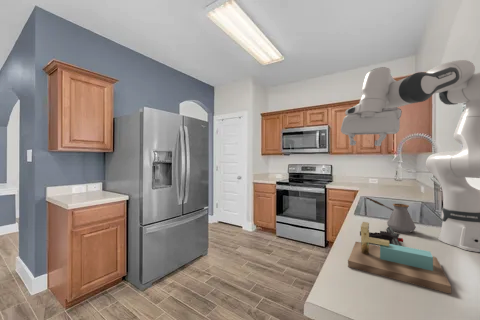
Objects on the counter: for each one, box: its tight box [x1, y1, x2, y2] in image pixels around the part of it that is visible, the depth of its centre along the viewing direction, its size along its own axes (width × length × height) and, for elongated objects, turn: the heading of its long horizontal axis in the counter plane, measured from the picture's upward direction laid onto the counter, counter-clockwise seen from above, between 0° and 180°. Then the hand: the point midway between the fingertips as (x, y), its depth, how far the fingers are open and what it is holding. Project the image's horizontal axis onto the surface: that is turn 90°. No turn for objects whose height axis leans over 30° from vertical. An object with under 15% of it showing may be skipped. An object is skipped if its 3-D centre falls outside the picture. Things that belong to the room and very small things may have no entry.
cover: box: [379, 244, 434, 271], centre depth 68 cm, size 13×5×4 cm, turn 55°
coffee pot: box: [364, 196, 416, 234], centre depth 108 cm, size 21×12×15 cm, turn 49°
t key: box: [360, 221, 389, 254], centre depth 72 cm, size 8×7×10 cm
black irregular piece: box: [359, 226, 404, 246], centre depth 88 cm, size 5×20×15 cm
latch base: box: [347, 241, 452, 294], centre depth 69 cm, size 24×20×2 cm
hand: (364, 145), depth 80 cm, fingers open, 8 cm apart
